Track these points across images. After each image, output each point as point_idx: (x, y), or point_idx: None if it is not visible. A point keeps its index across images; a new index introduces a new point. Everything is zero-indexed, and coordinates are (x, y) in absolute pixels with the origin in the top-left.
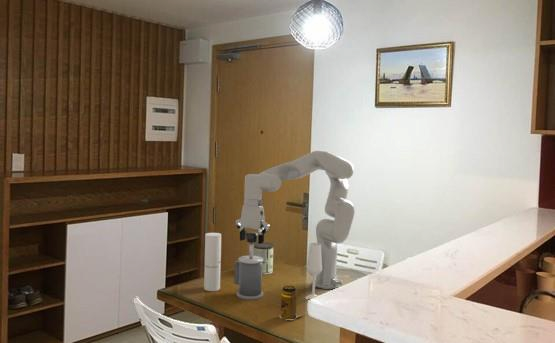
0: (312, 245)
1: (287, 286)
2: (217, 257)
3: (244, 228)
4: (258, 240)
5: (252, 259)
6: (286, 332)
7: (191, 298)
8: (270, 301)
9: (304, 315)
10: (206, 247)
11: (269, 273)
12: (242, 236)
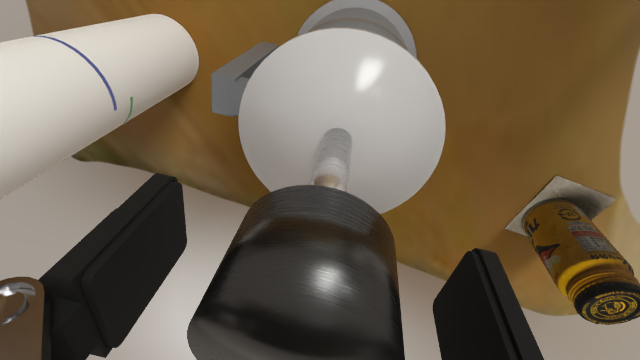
0: None
1: (605, 298)
2: (88, 130)
3: (36, 357)
4: (442, 344)
5: (357, 160)
6: (542, 297)
7: (189, 178)
8: (463, 102)
9: (618, 189)
10: None
11: None
12: (159, 271)
